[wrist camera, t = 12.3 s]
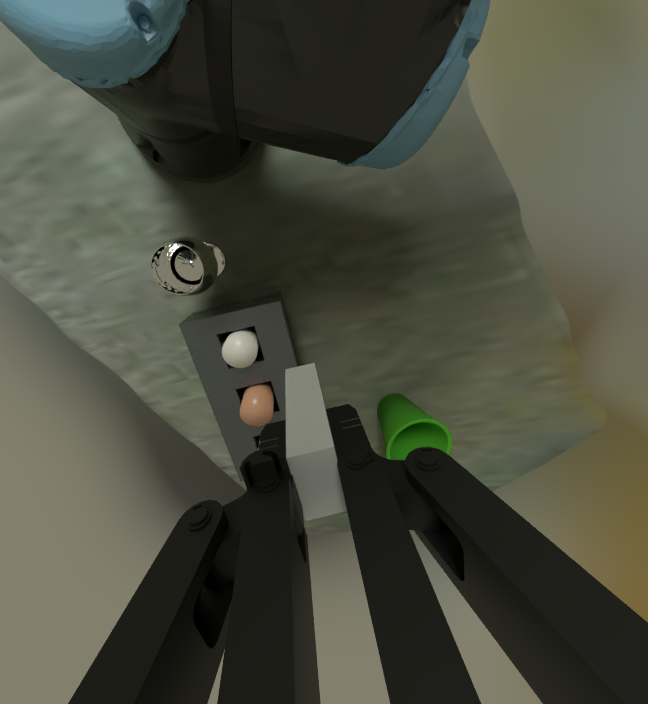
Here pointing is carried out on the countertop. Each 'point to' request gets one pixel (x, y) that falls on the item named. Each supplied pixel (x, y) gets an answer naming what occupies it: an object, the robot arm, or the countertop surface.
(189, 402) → the countertop surface
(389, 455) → the cup
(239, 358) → the white plug
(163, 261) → the wineglass
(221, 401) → the grey socket block
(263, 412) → the plug terracotta
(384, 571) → the robot arm
